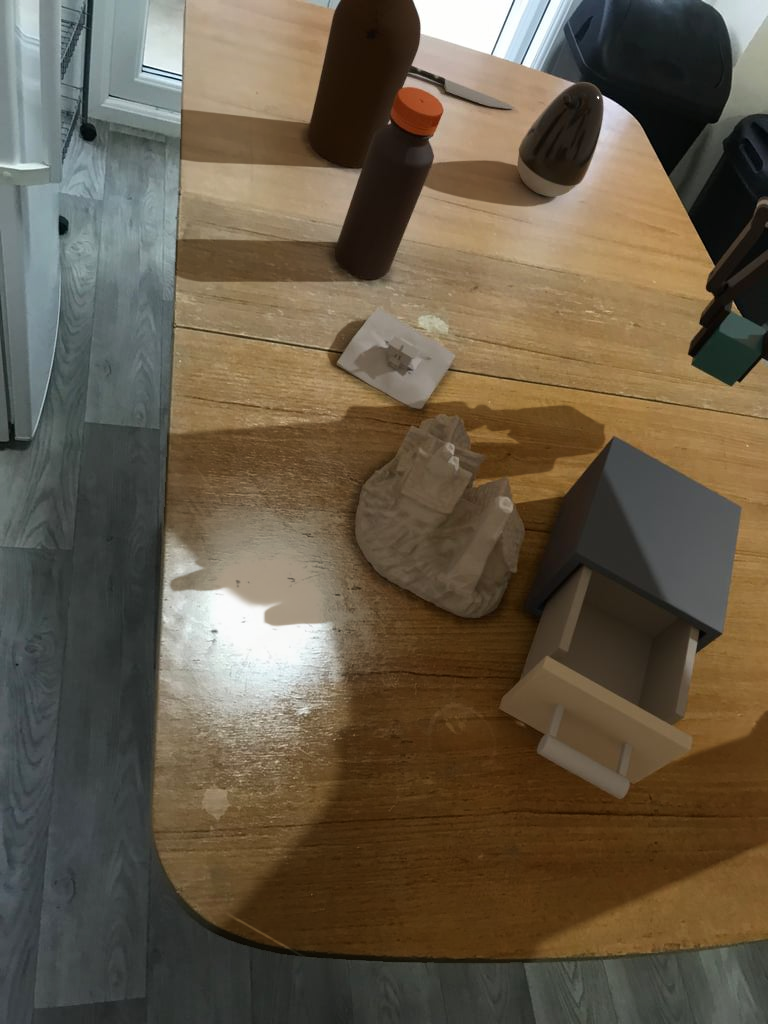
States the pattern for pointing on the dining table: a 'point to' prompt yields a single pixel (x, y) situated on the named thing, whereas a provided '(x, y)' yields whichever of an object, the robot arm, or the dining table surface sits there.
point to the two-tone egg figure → (562, 141)
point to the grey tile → (396, 359)
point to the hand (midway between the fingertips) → (715, 361)
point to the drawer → (606, 682)
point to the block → (730, 349)
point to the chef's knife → (462, 90)
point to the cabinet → (645, 537)
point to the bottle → (389, 185)
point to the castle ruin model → (440, 522)
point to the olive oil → (362, 75)
